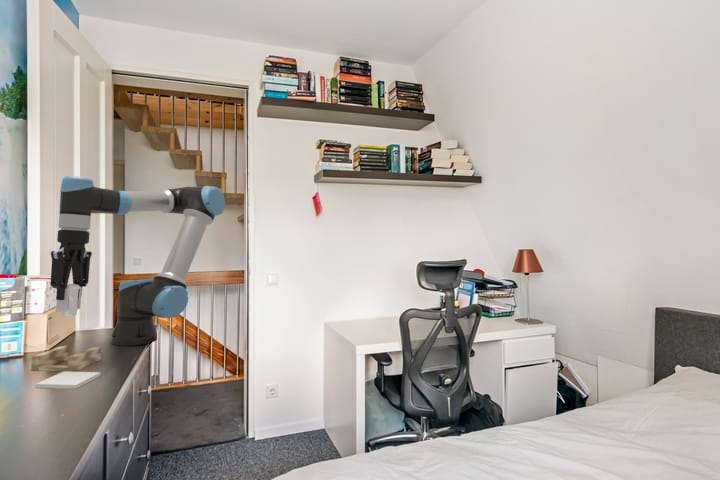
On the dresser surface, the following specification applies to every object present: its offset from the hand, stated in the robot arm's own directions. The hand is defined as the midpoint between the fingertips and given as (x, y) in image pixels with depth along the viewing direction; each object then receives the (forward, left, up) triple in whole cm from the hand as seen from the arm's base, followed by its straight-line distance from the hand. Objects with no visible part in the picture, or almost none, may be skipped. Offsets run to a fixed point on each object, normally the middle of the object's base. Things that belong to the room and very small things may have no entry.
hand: (68, 309), depth 114 cm
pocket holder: (-4, -2, -17) cm, 18 cm away
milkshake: (0, 0, -2) cm, 2 cm away
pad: (+10, +8, -17) cm, 21 cm away
